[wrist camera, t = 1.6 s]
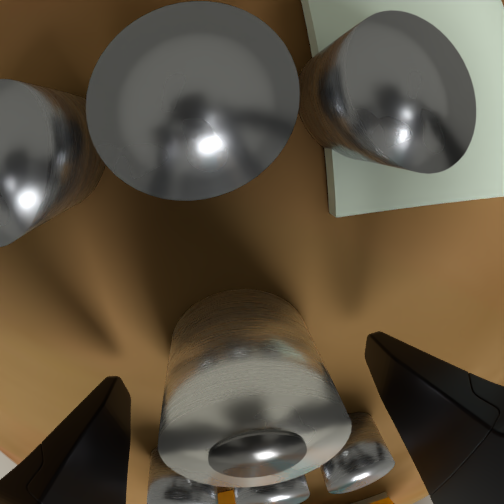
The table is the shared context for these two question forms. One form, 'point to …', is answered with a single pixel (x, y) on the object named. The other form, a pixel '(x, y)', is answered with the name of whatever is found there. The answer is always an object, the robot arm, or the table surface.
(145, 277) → the table surface
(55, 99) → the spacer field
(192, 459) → the stepped steel cylinder
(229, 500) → the pipe clamp
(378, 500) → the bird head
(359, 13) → the sage mat
